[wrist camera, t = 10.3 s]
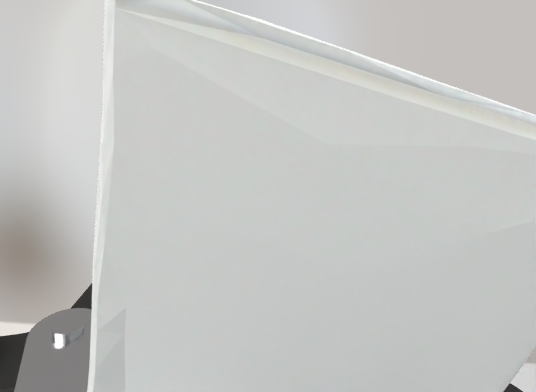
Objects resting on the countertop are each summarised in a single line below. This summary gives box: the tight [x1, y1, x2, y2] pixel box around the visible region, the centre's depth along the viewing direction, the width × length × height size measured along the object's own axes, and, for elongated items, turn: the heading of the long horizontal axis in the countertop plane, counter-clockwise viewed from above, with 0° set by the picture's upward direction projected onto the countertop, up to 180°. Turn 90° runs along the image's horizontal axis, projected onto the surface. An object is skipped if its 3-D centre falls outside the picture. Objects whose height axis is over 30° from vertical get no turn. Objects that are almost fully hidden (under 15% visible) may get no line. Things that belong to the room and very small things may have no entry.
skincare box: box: [87, 0, 536, 392], centre depth 8 cm, size 8×6×15 cm
